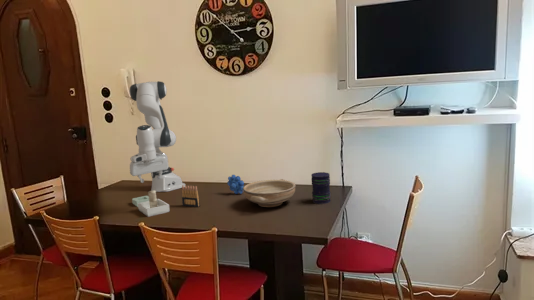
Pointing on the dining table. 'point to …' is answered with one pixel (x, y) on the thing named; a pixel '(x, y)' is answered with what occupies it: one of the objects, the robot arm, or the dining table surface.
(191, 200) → the ammunition clip
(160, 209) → the tray
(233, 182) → the grapes
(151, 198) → the dowel
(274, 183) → the ceramic bowl
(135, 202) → the holder
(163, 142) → the robot arm
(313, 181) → the storage jar
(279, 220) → the dining table surface
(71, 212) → the dining table surface
